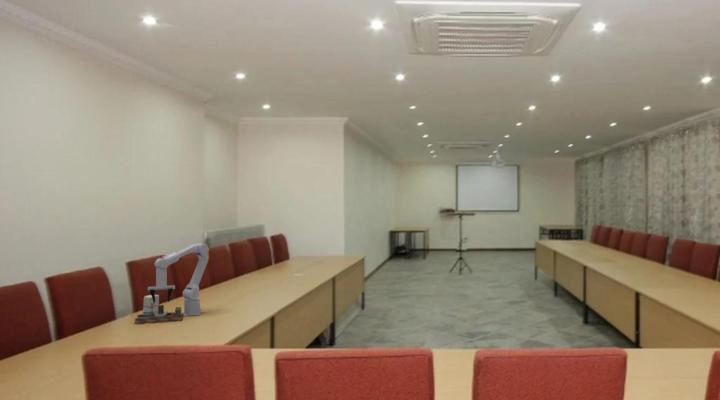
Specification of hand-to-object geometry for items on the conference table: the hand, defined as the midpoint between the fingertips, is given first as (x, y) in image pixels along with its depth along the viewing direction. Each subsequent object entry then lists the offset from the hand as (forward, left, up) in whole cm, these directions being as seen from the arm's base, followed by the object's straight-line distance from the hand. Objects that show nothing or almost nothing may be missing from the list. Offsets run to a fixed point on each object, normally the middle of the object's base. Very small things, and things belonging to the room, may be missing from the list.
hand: (161, 302), depth 266 cm
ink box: (+7, -15, -11) cm, 20 cm away
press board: (+1, +1, -10) cm, 10 cm away
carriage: (0, +1, -9) cm, 9 cm away
